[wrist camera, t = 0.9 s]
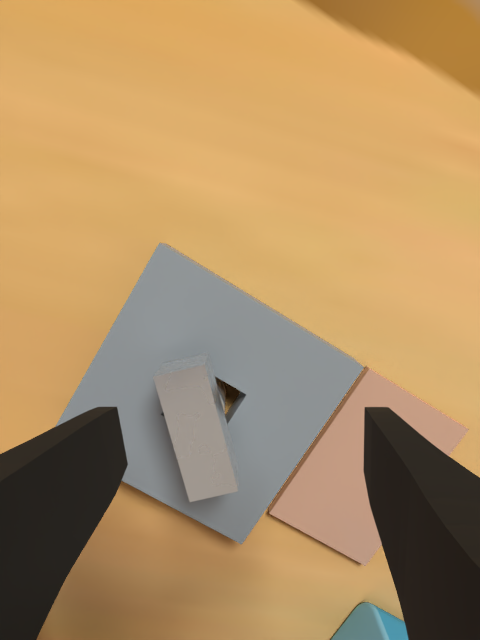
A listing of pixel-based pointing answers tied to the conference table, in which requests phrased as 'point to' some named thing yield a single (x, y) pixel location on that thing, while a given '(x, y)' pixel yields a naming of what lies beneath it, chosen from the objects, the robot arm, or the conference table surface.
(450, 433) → the tile
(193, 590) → the conference table surface
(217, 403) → the t key
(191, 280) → the cover plate
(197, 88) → the conference table surface
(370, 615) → the blue box
